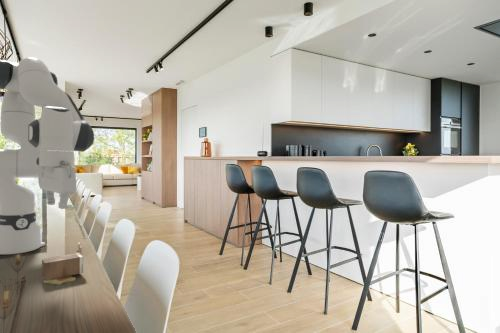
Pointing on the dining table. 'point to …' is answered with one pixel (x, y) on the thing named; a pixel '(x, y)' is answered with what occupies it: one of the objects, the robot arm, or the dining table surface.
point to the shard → (61, 280)
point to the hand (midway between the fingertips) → (56, 206)
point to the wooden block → (62, 266)
